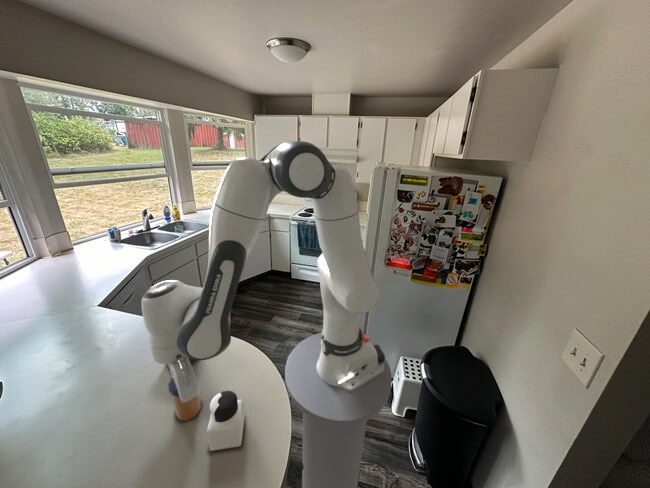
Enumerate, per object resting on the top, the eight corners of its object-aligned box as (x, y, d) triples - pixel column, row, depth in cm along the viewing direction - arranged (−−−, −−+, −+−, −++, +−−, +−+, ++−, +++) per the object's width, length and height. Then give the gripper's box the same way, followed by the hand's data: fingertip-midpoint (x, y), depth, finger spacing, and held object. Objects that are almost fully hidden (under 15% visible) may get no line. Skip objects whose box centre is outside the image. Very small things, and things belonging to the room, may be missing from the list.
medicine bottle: (244, 417, 67) (241, 384, 63) (241, 446, 60) (236, 412, 56) (216, 421, 66) (211, 388, 61) (209, 451, 59) (203, 417, 55)
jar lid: (194, 371, 69) (192, 366, 68) (198, 388, 64) (197, 383, 64) (168, 382, 65) (166, 377, 65) (171, 401, 61) (169, 395, 60)
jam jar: (201, 396, 72) (195, 369, 68) (200, 415, 67) (194, 387, 63) (178, 404, 70) (171, 376, 66) (175, 424, 65) (167, 395, 61)
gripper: (201, 364, 55) (209, 408, 60) (178, 318, 69) (186, 356, 74) (168, 380, 51) (180, 425, 56) (151, 327, 65) (161, 367, 70)
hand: (183, 386), depth 65 cm, fingers closed on jar lid, 6 cm apart
